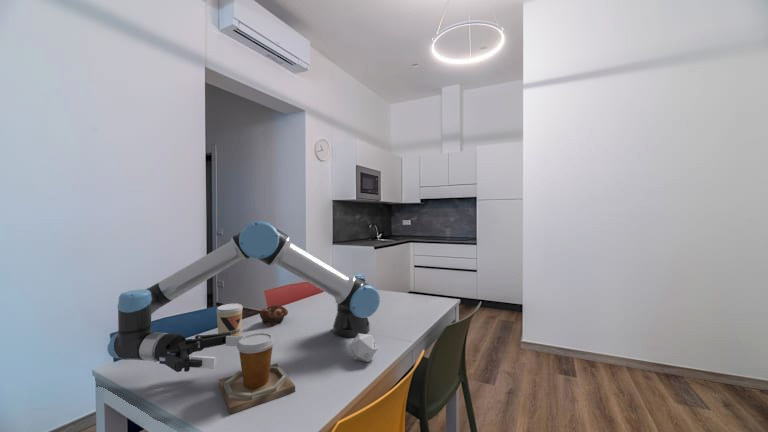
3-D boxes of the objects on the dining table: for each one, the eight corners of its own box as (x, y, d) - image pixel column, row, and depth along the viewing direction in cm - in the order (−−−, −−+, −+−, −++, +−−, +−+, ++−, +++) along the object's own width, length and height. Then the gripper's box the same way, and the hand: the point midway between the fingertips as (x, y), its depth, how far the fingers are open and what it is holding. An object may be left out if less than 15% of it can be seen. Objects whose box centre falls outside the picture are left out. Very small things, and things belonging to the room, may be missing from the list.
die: (359, 370, 95) (377, 343, 96) (340, 351, 99) (358, 326, 100) (368, 368, 102) (385, 343, 103) (350, 350, 106) (367, 327, 107)
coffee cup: (219, 343, 114) (219, 311, 114) (213, 336, 121) (213, 306, 121) (245, 337, 120) (245, 306, 120) (238, 330, 127) (238, 301, 127)
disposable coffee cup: (261, 394, 78) (261, 347, 78) (229, 390, 80) (228, 344, 80) (281, 375, 88) (281, 333, 88) (251, 372, 90) (251, 331, 90)
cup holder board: (276, 368, 95) (276, 360, 95) (295, 391, 82) (295, 382, 82) (218, 385, 86) (218, 376, 86) (229, 414, 73) (229, 403, 73)
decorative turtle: (252, 327, 131) (252, 308, 132) (277, 319, 145) (277, 302, 146) (270, 329, 128) (270, 309, 128) (293, 320, 141) (293, 303, 142)
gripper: (196, 342, 100) (257, 346, 97) (121, 383, 75) (198, 390, 72) (196, 319, 100) (257, 322, 97) (121, 353, 75) (198, 358, 72)
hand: (232, 351), depth 85 cm, fingers open, 13 cm apart
